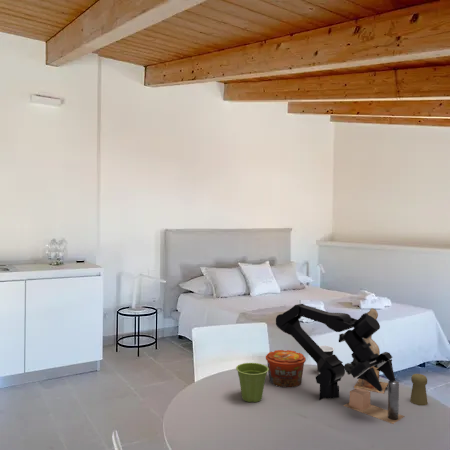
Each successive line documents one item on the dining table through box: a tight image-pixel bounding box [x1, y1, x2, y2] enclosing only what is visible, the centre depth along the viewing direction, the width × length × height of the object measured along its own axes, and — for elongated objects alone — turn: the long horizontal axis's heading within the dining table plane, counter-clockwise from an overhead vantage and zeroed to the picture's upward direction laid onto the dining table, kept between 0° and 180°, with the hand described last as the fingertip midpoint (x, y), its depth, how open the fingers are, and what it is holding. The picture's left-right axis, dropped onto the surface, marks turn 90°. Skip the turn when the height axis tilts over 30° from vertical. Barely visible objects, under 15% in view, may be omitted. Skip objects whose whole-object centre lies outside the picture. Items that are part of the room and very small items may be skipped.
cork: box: [409, 373, 428, 406], centre depth 156 cm, size 6×6×11 cm
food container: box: [265, 349, 307, 388], centre depth 178 cm, size 16×16×11 cm
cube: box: [348, 388, 371, 410], centre depth 152 cm, size 5×5×5 cm
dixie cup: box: [316, 345, 335, 375], centre depth 187 cm, size 8×8×11 cm
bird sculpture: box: [353, 307, 388, 394], centre depth 170 cm, size 11×12×32 cm
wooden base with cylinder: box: [342, 380, 405, 425], centre depth 149 cm, size 18×8×13 cm, turn 42°
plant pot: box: [235, 362, 269, 403], centre depth 161 cm, size 12×12×11 cm
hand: (388, 387), depth 145 cm, fingers open, 9 cm apart
